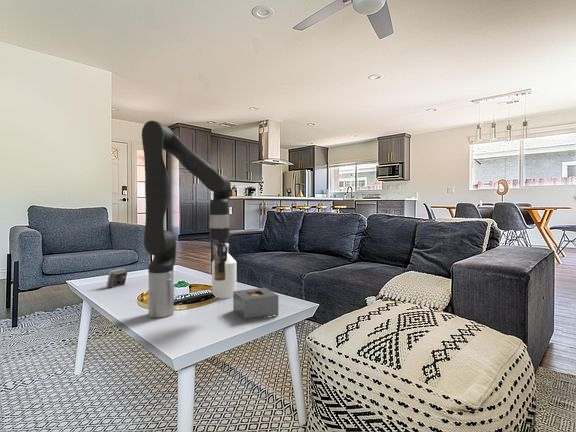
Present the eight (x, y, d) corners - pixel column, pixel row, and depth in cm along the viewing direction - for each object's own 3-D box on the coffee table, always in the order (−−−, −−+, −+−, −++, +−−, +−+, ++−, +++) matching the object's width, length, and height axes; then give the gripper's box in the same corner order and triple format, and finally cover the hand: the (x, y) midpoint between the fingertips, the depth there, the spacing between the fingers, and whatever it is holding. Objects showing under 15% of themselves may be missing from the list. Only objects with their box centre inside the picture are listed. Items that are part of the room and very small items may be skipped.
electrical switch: (120, 284, 181) (121, 267, 181) (127, 285, 179) (128, 269, 179) (105, 287, 172) (106, 270, 172) (113, 289, 171) (114, 272, 170)
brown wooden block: (216, 281, 122) (215, 249, 122) (213, 279, 126) (213, 248, 126) (226, 280, 124) (226, 248, 124) (223, 278, 128) (223, 247, 127)
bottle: (238, 292, 163) (237, 242, 163) (235, 298, 152) (234, 245, 151) (214, 292, 163) (214, 242, 163) (209, 298, 151) (209, 245, 151)
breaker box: (244, 321, 121) (244, 299, 121) (233, 310, 134) (233, 291, 133) (278, 315, 127) (278, 295, 127) (264, 306, 140) (264, 287, 140)
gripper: (205, 226, 129) (206, 269, 129) (214, 227, 116) (214, 275, 117) (224, 225, 132) (224, 267, 133) (234, 227, 120) (234, 273, 120)
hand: (219, 271), depth 125 cm, fingers closed on brown wooden block, 4 cm apart
